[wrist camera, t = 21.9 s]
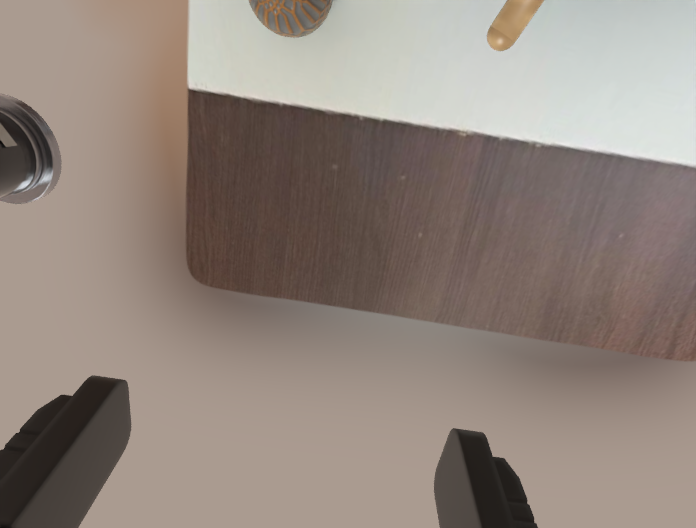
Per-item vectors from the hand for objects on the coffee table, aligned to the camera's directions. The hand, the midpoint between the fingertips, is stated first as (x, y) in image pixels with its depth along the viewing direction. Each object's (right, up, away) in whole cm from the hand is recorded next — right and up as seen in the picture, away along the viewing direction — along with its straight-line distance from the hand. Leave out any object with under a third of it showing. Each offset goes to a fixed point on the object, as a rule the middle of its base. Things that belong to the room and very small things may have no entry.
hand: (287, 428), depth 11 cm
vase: (-3, +28, +28) cm, 40 cm away
